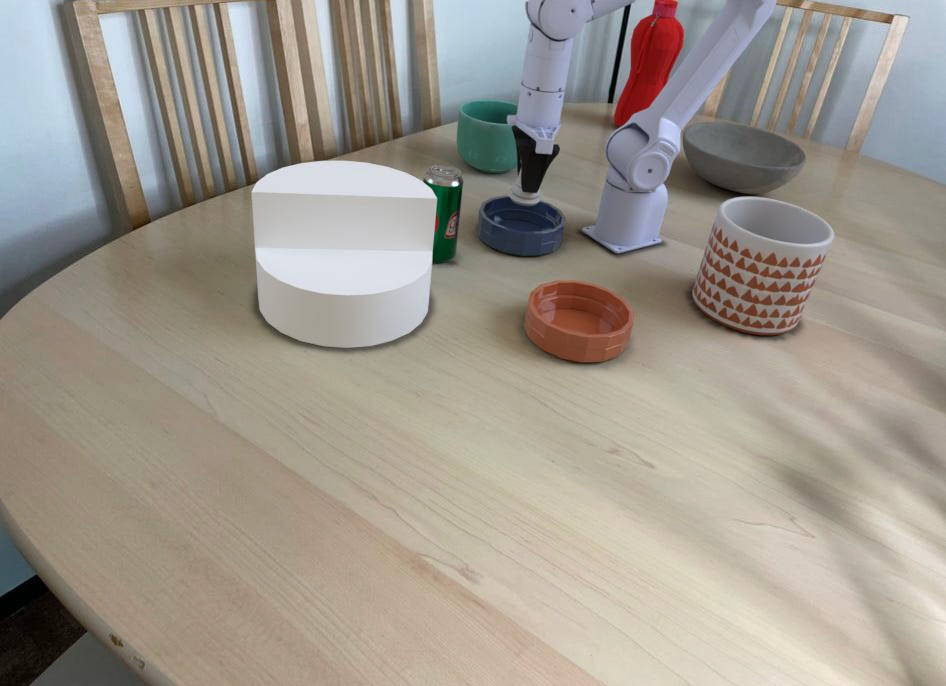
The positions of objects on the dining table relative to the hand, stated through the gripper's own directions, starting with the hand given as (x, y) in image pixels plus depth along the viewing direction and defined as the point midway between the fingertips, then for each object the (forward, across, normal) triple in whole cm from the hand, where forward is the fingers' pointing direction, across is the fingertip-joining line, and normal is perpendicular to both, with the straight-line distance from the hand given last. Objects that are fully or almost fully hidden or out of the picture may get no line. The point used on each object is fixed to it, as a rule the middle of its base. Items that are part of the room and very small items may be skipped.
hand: (527, 185), depth 103 cm
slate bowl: (+8, 0, 0) cm, 8 cm away
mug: (+8, -29, 0) cm, 30 cm away
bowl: (+8, -27, +42) cm, 51 cm away
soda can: (+8, +7, -12) cm, 16 cm away
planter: (+8, +16, +28) cm, 33 cm away
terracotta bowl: (+8, +24, +4) cm, 26 cm away
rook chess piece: (+2, 0, 0) cm, 2 cm away
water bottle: (+8, -54, +31) cm, 63 cm away
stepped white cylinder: (+8, +19, -24) cm, 31 cm away
